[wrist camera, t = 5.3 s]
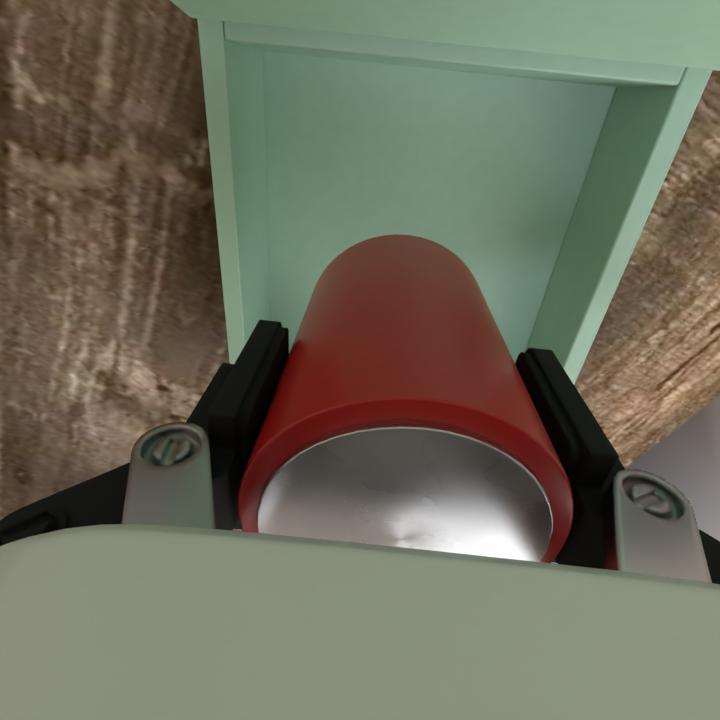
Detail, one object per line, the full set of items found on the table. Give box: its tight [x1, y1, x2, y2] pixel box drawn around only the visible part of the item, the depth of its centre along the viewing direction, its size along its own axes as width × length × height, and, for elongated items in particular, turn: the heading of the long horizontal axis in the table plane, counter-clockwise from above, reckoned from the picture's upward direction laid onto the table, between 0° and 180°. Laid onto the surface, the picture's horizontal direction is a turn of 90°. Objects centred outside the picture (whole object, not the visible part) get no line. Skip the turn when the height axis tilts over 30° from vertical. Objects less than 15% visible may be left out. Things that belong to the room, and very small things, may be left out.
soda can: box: [238, 234, 574, 563], centre depth 11 cm, size 6×6×9 cm
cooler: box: [197, 18, 712, 384], centre depth 19 cm, size 17×16×5 cm
